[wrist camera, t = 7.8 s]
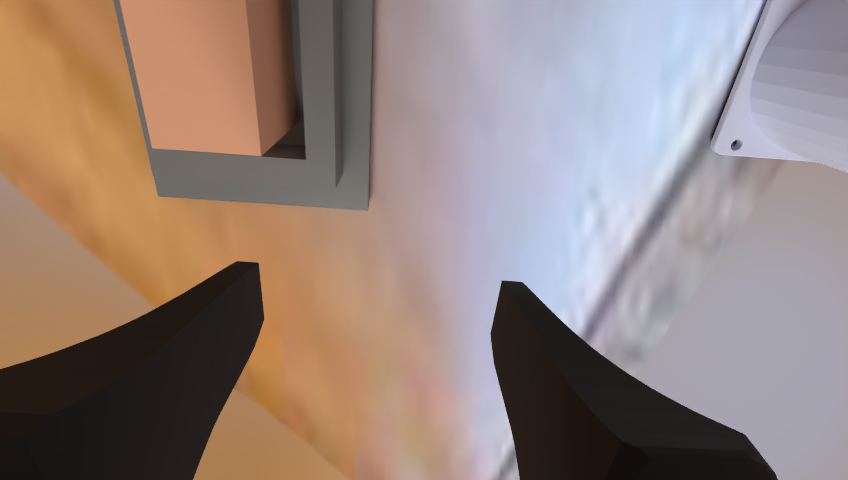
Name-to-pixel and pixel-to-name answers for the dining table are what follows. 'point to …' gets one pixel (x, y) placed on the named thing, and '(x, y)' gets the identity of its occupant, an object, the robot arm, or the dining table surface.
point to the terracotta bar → (214, 72)
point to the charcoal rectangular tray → (313, 134)
